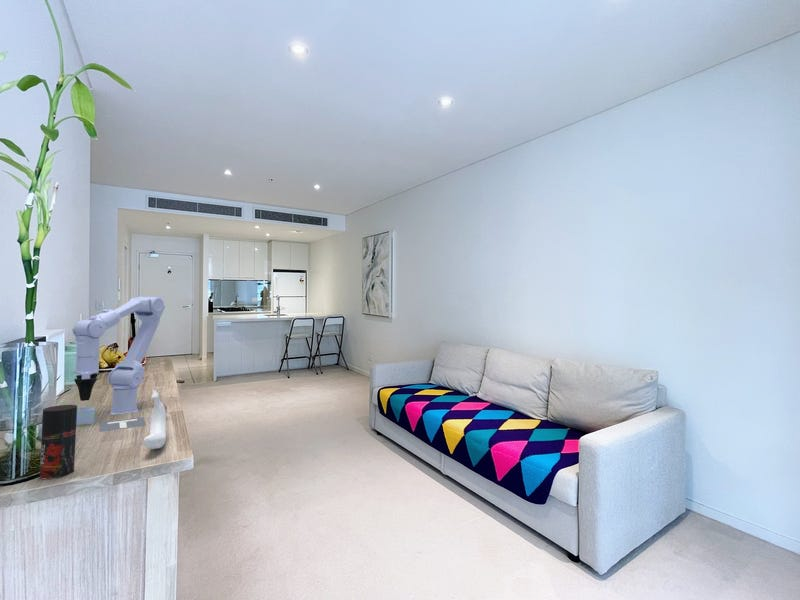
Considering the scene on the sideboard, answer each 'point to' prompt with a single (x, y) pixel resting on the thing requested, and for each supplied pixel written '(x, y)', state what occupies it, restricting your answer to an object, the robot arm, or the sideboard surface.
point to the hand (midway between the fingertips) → (85, 398)
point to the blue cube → (85, 415)
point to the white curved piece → (156, 425)
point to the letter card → (122, 424)
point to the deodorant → (58, 441)
